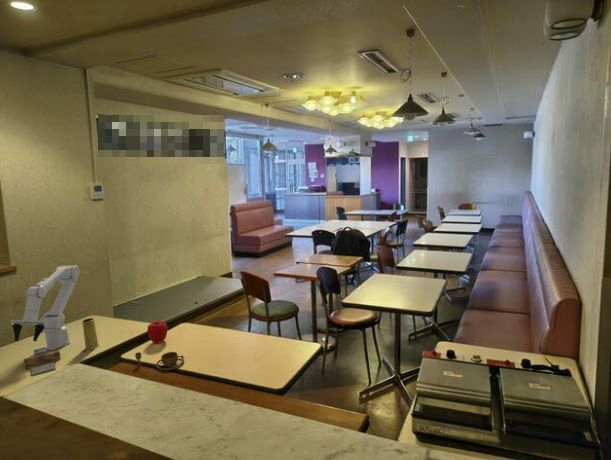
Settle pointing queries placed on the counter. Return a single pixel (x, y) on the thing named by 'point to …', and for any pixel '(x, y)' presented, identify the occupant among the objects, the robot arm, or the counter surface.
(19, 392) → the counter surface
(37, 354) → the slate cube
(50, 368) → the mat
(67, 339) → the robot arm
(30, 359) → the walnut screen
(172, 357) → the place setting
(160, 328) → the apple
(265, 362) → the counter surface
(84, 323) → the vase
